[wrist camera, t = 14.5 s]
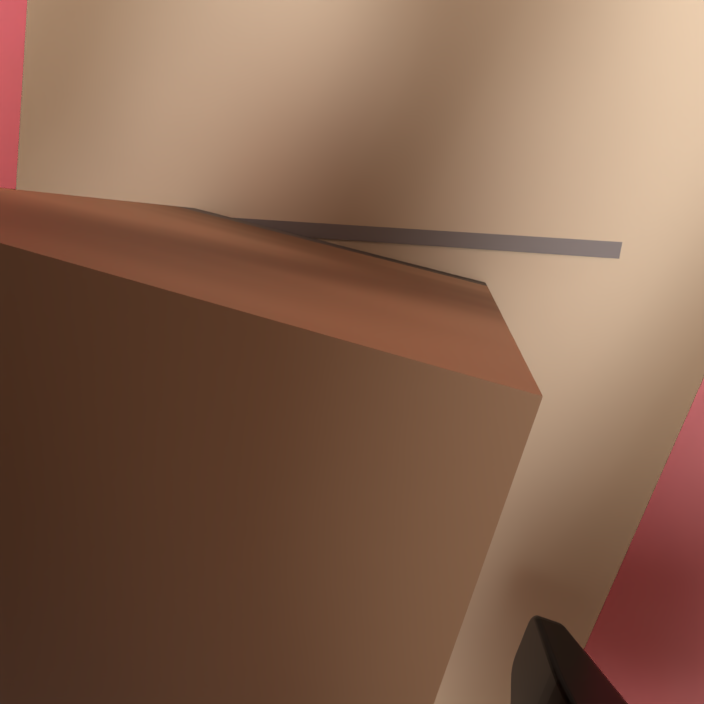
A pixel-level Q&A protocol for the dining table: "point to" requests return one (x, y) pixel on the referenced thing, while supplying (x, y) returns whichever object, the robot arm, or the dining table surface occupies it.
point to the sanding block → (239, 459)
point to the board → (439, 213)
